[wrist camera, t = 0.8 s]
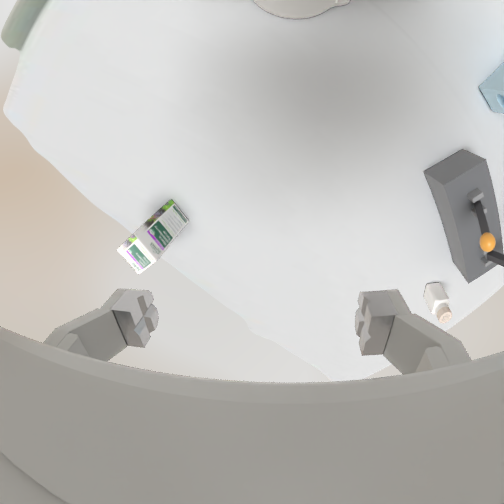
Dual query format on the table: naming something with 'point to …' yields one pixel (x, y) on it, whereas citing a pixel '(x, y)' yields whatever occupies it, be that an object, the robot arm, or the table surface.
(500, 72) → the light blue rounded box
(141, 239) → the syrup box
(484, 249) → the orange lever
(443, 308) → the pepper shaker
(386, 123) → the table surface
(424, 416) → the robot arm
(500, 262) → the grey lever
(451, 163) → the switch box
